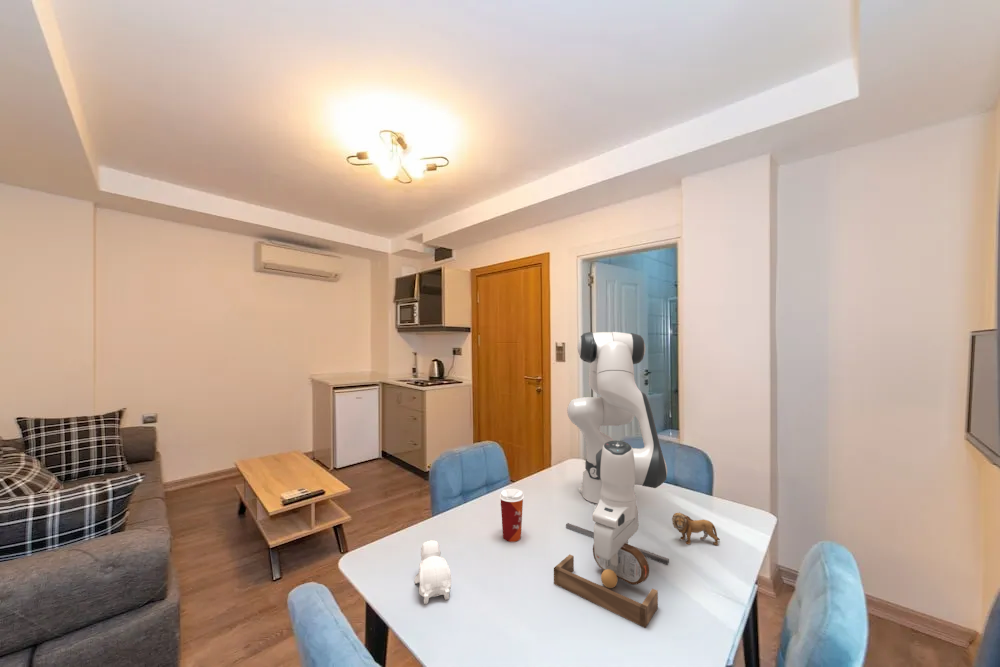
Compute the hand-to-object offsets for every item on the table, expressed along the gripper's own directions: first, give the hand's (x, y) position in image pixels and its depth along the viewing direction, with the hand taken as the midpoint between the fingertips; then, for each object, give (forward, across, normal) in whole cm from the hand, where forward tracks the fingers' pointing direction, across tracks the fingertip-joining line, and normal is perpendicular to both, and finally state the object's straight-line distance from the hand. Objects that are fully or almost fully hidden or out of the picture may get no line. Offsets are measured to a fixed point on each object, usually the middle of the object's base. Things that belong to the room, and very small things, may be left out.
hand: (618, 560), depth 100 cm
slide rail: (+5, -16, -8) cm, 18 cm away
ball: (+3, +4, -1) cm, 5 cm away
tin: (+4, +1, 0) cm, 4 cm away
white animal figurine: (+5, +32, -36) cm, 48 cm away
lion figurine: (+5, -32, +11) cm, 34 cm away
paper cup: (+5, +1, -34) cm, 35 cm away
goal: (+5, +8, -1) cm, 9 cm away
